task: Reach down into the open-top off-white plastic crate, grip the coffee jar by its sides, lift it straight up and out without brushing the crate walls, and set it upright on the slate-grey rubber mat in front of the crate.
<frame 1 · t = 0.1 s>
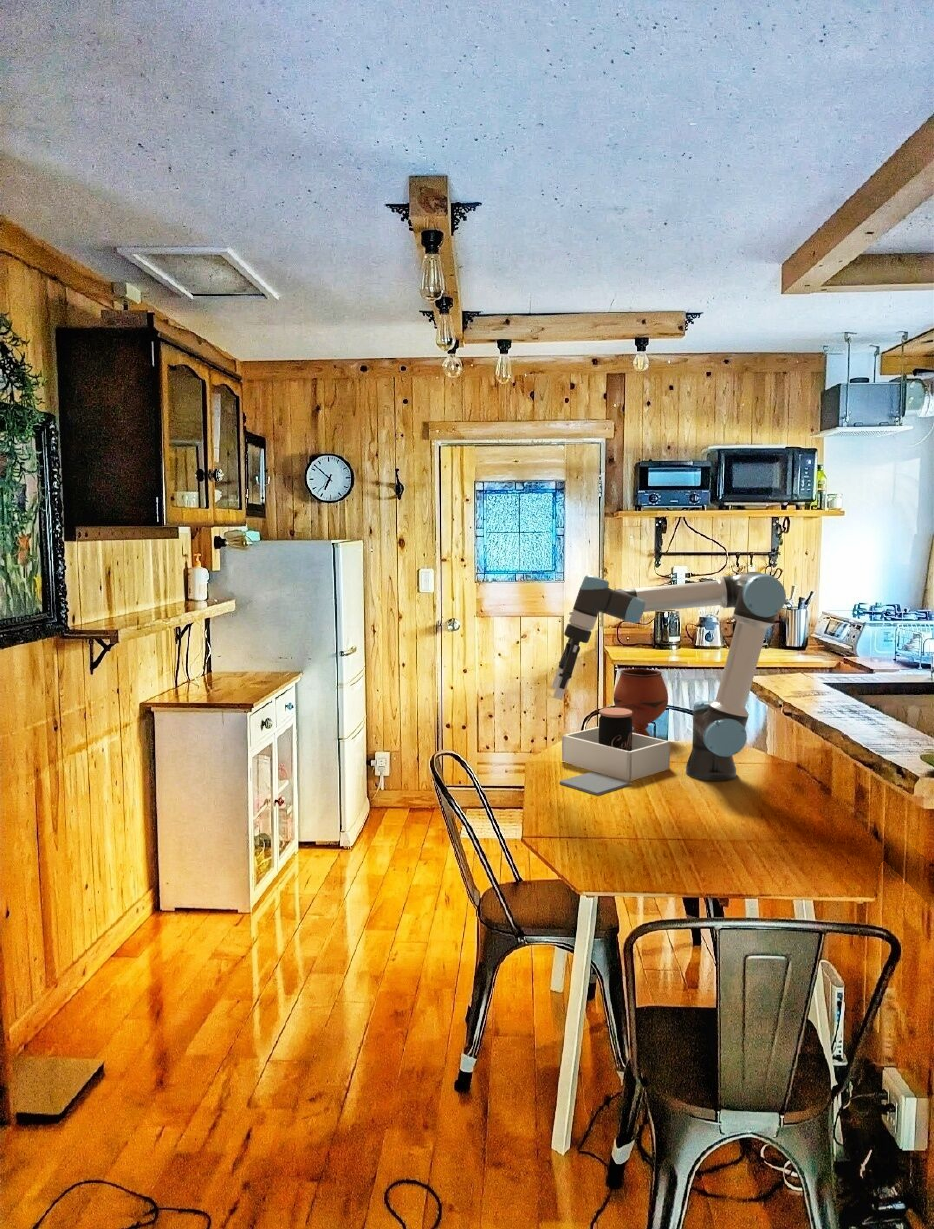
hand: (556, 693, 261), 28 cm above the table, tool tilted 20°, fingers open, 13 cm apart
coffee jar: (614, 766, 284), resting in crate
goblet: (640, 739, 317), on the table
crate: (614, 765, 284), on the table
mat: (594, 784, 264), on the table
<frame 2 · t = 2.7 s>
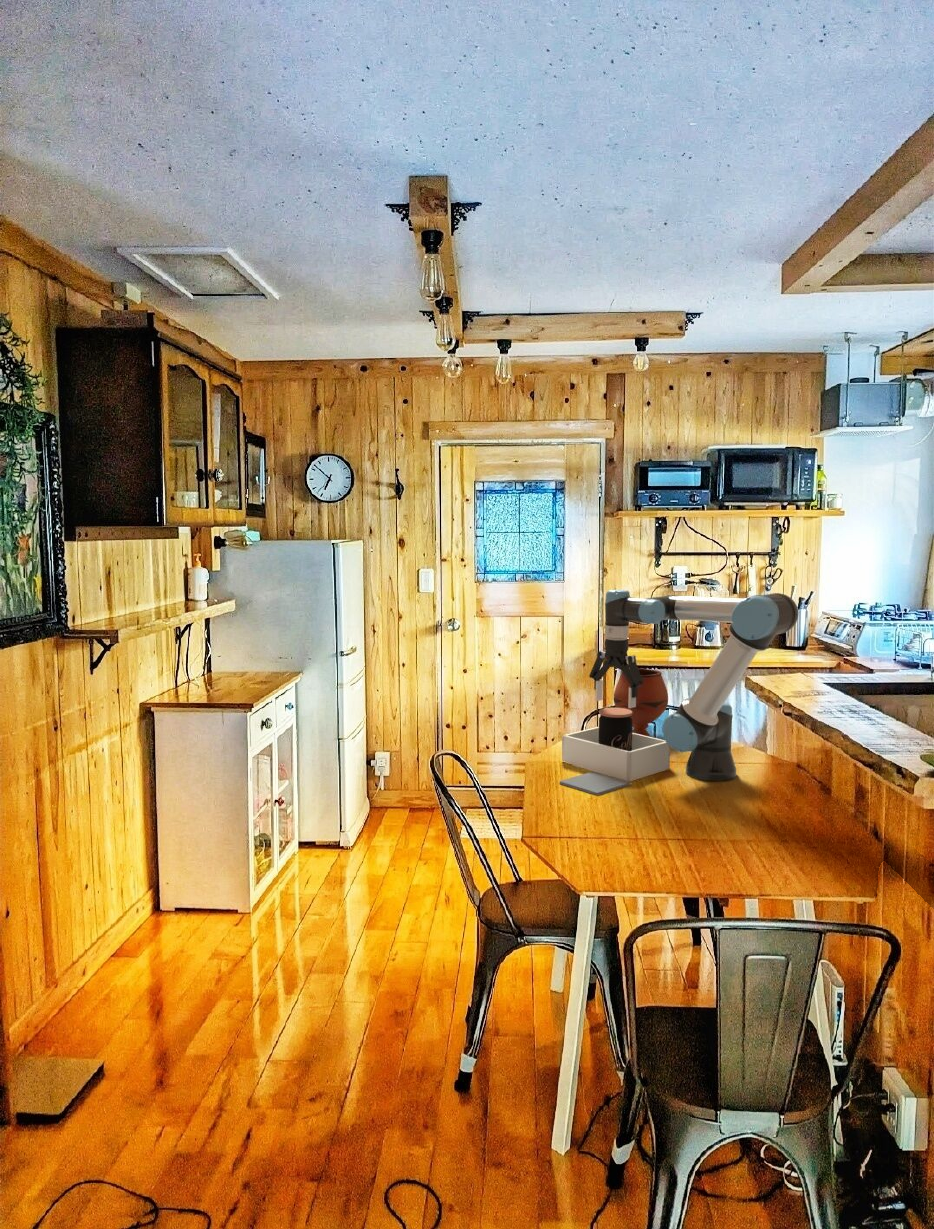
hand: (615, 703, 282), 20 cm above the table, tool pointing down, fingers open, 13 cm apart
nothing on the table moved.
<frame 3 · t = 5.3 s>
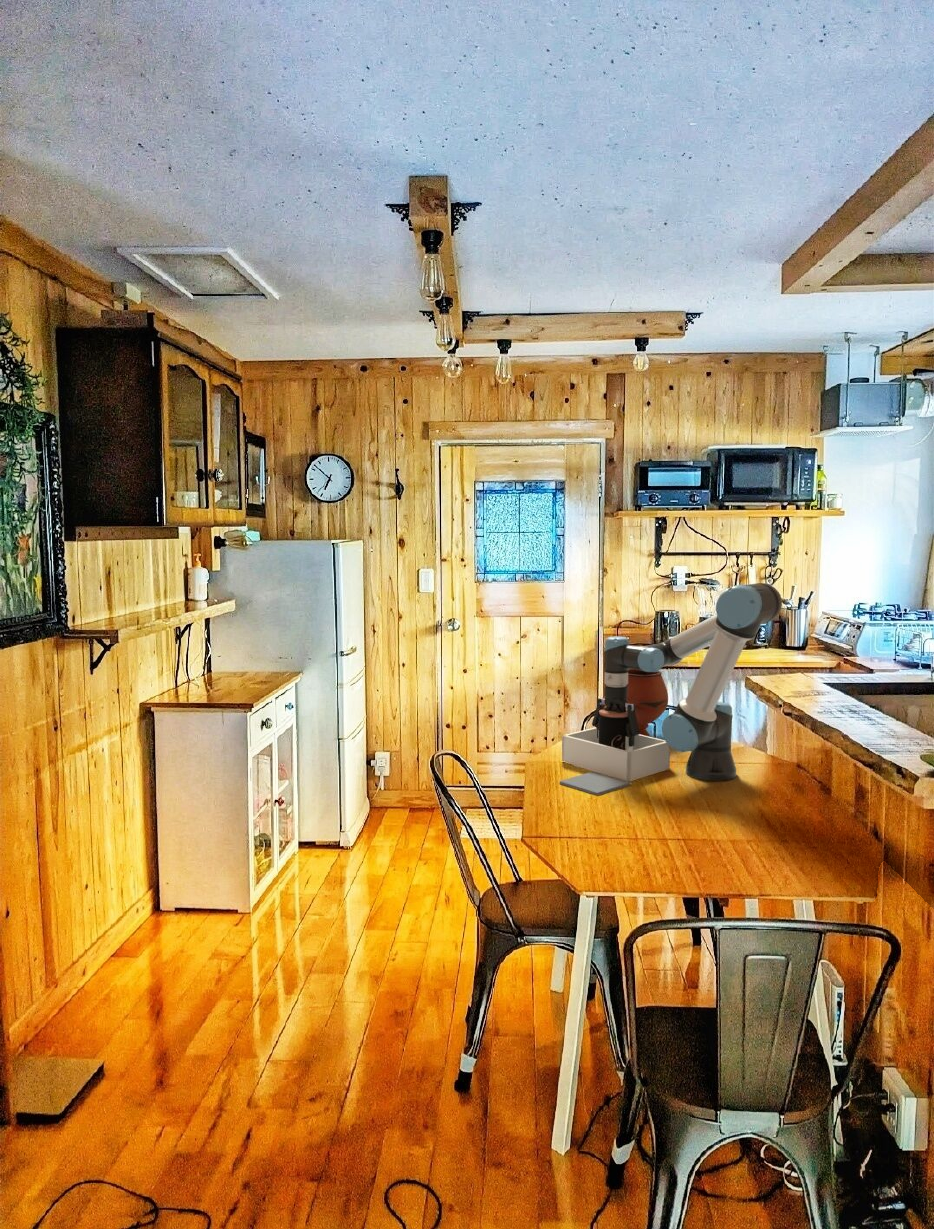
hand: (615, 752, 284), 4 cm above the table, tool pointing down, fingers closed on coffee jar, 11 cm apart
coffee jar: (614, 766, 284), resting in crate, touching gripper
everything else where it was.
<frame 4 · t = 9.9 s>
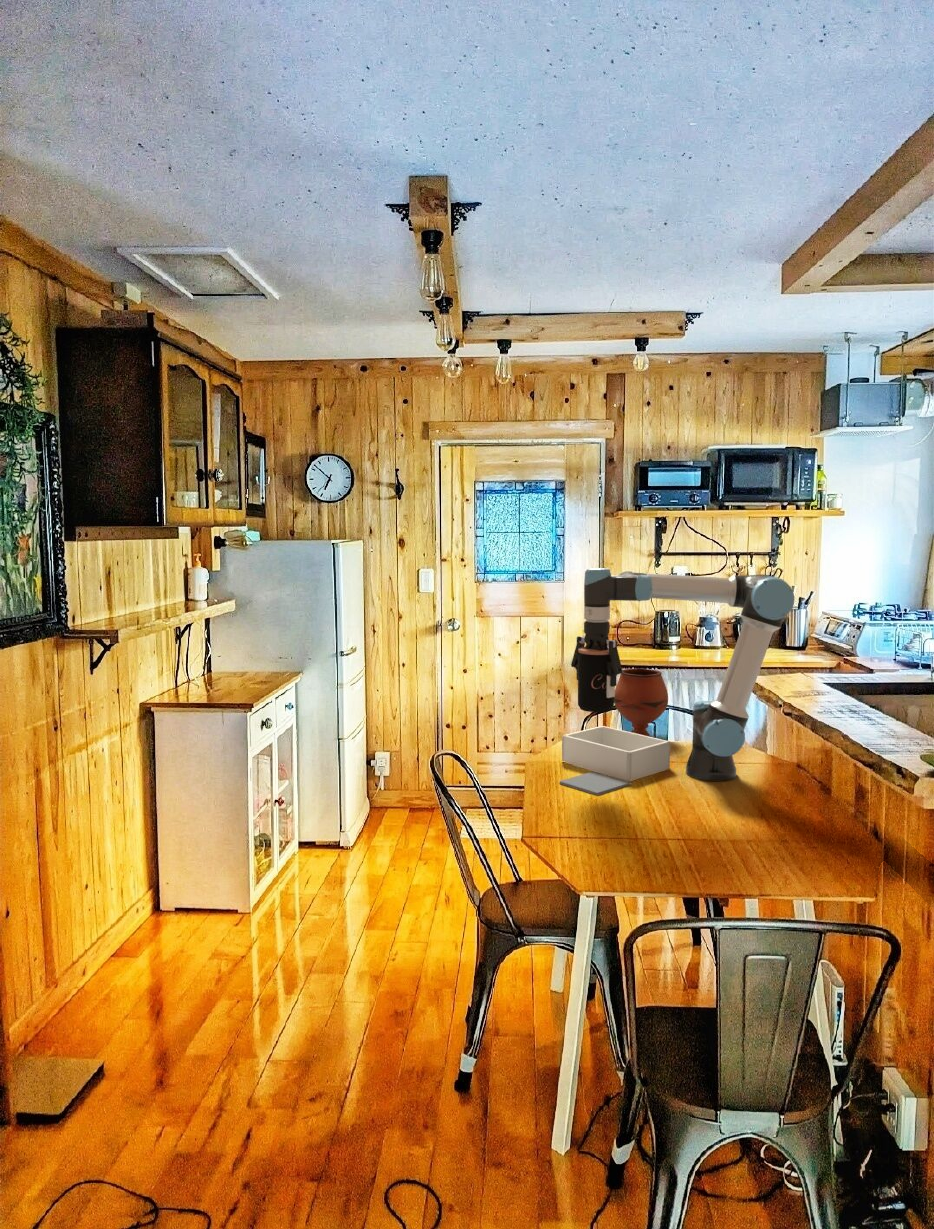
hand: (595, 694, 261), 28 cm above the table, tool pointing down, fingers closed on coffee jar, 11 cm apart
coffee jar: (595, 709, 262), point 23 cm above the table, touching gripper
everything else where it was.
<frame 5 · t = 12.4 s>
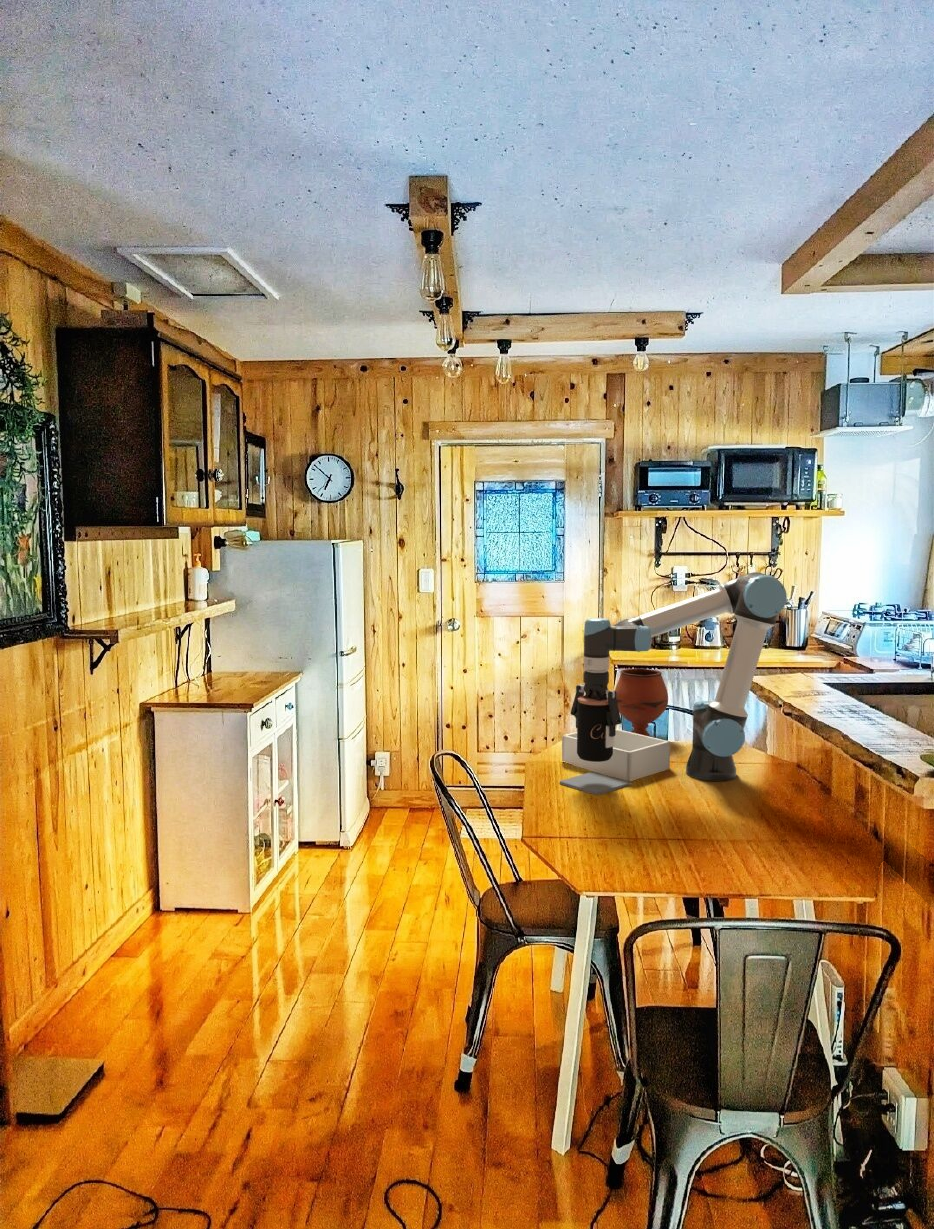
hand: (595, 743, 263), 13 cm above the table, tool pointing down, fingers closed on coffee jar, 11 cm apart
coffee jar: (594, 758, 263), point 8 cm above the table, touching gripper
everything else where it was.
when the fingers open (7 cm above the table, at t = 14.7 s): coffee jar drops 2 cm, resting on mat.
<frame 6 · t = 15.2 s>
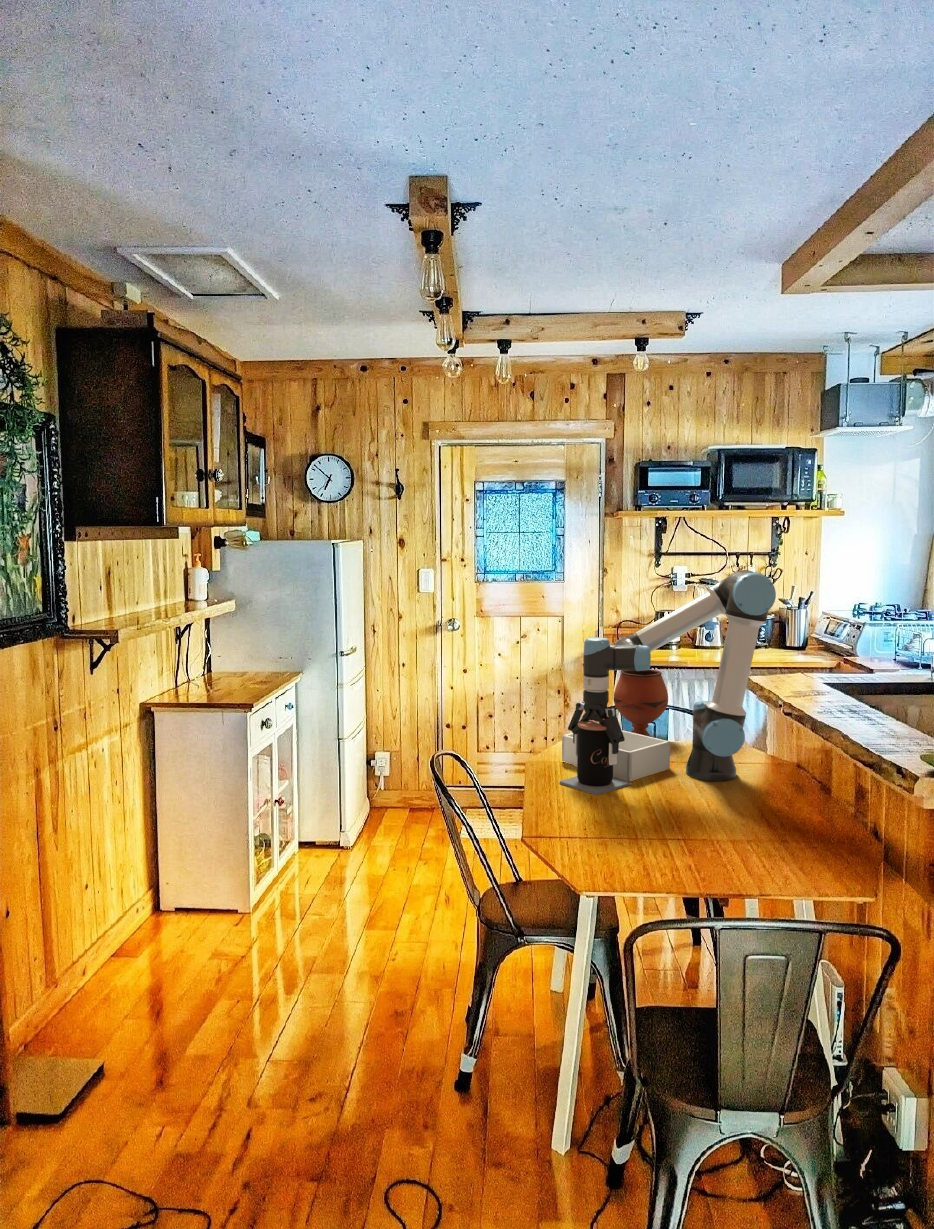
hand: (595, 759, 264), 8 cm above the table, tool pointing down, fingers open, 13 cm apart
coffee jar: (595, 782, 264), point 1 cm above the table, touching mat
everything else where it was.
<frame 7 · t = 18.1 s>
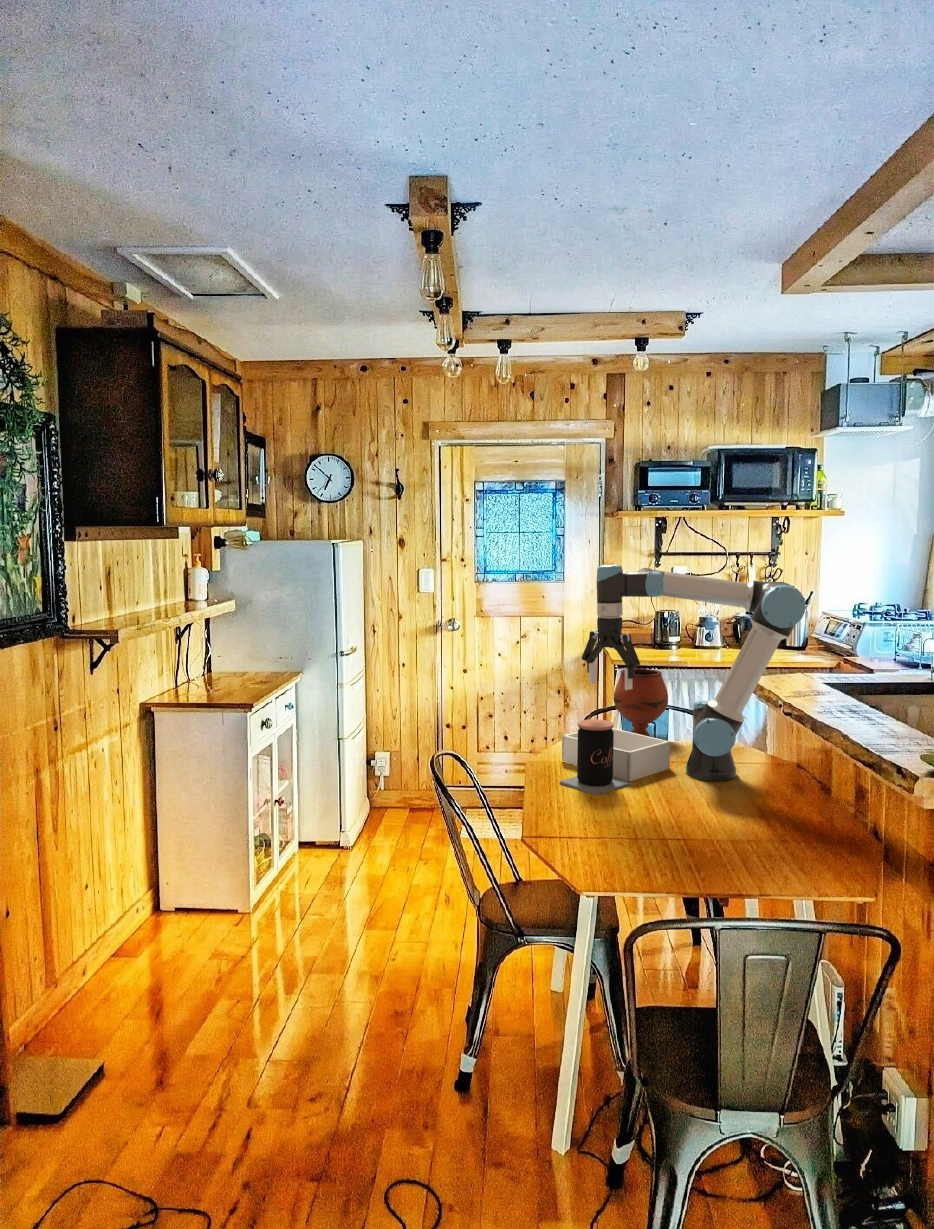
hand: (610, 686, 265), 29 cm above the table, tool pointing down, fingers open, 13 cm apart
nothing on the table moved.
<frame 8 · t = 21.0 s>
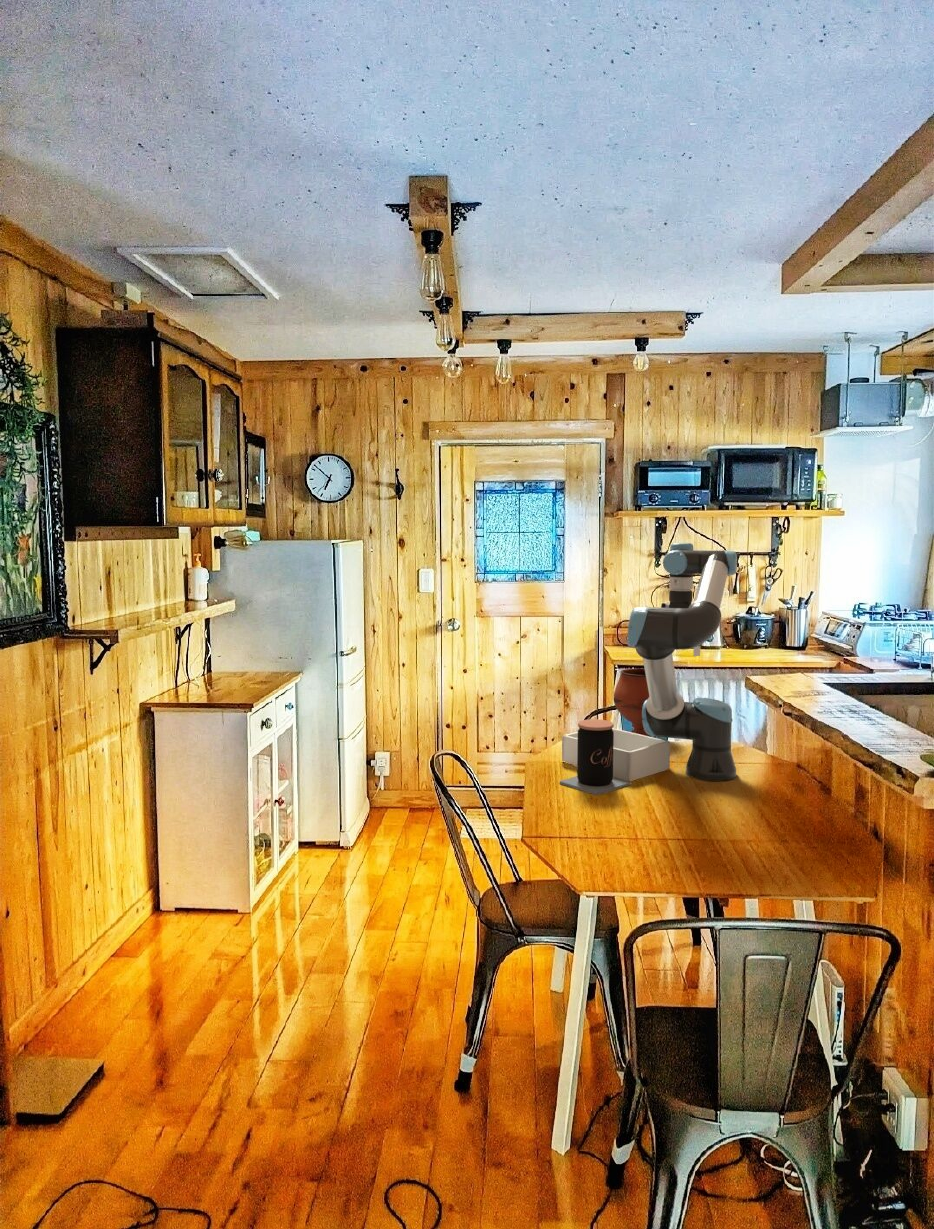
hand: (679, 653, 292), 35 cm above the table, tool pointing down, fingers open, 13 cm apart
nothing on the table moved.
at the end: coffee jar inside the target area on the mat (0.0 cm from its centre), point 0.6 cm above the mat's base; coffee jar tilted 0°; coffee jar touching mat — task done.
